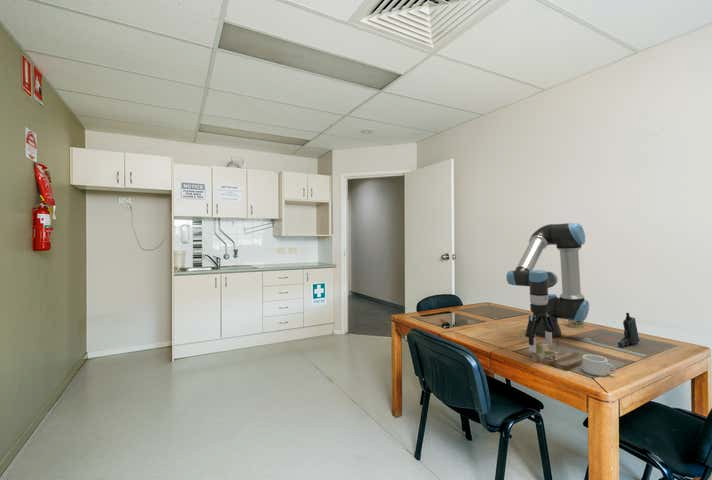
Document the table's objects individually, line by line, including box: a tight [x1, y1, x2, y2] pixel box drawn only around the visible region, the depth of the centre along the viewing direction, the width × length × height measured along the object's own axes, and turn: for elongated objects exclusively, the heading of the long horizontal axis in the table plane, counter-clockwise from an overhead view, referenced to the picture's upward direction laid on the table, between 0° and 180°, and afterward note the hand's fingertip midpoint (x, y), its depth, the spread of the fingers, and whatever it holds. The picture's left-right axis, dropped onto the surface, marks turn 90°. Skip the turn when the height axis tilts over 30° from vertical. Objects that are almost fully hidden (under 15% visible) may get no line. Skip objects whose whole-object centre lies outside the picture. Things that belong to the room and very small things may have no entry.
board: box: [543, 350, 584, 372], centre depth 151 cm, size 10×20×2 cm, turn 121°
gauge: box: [531, 340, 559, 364], centre depth 152 cm, size 10×5×8 cm, turn 31°
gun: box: [617, 312, 641, 349], centre depth 170 cm, size 3×17×15 cm
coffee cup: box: [567, 319, 585, 329], centre depth 208 cm, size 9×9×12 cm
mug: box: [580, 353, 617, 377], centre depth 139 cm, size 12×10×6 cm
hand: (541, 348), depth 154 cm, fingers open, 13 cm apart
